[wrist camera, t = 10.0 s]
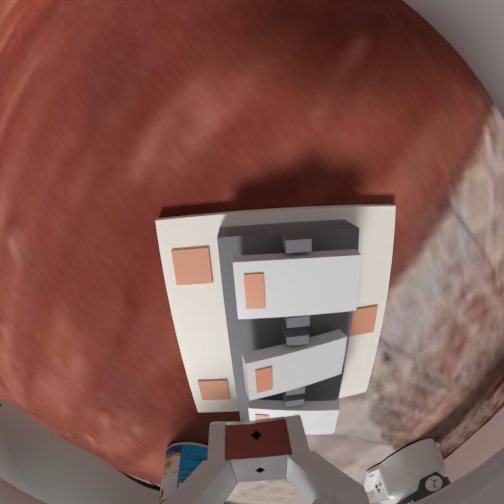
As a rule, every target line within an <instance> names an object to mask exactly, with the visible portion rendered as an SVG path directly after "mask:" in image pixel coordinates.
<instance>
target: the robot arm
mask: <svg viewBox="0 0 504 504" xmlns="http://www.w3.org/2000/svg"><path fill="white" fill-rule="evenodd" d="M439 446H440V444H439V442H434V440H433V439H431V438H429V439H424V440H421V441H418V442H416V443H413V444H411V445H409V446H407V447H405V448H403V449H402V450H400V451H398V452H397V453H395V454H393V455H392V456H390V457H389V458H387V459H386V460H385V461H383V462H382V463H380V464H379V465H377V466H375V467H373V468H371V469H369V470H368V471H366V474H365V479H364V484H363V486H362V485H361V484H359V483H358V482H356V481H355V480H353V479H352V478H350V477H349V476H348V475H346V474H345V473H343V472H342V471H340V470H339V469H338V468H336V467H335V466H333V465H332V464H331V463H329V462H328V461H327V460H325V459H324V458H323V457H321V456H320V455H319V454H317V453H316V452H315V451H311V452H310V450H309V446H308V442H307V438H306V435H305V431H304V427H303V423H302V419H301V416H300V415H293V416H286V417H284V416H283V417H276V418H268V419H259V420H255V421H234V422H211V423H210V426H209V441H208V459H207V461H202V462H201V463H200V465H199V466H198V467H197V468H196V469H195V470H194V471H193V472H192V473H191V474H190V476H189V477H188V478H187V479H186V480H185V481H184V482H183V483H182V484H181V485H180V486H179V487H178V488H177V489H176V490H175V491H174V492H173V493H172V494H171V495H170V496H169V497H168V498H167V499H166V500H165V501H164V502H163V503H162V504H224V502H225V501H226V499H227V498H228V496H229V495H230V493H231V492H232V491H233V489H234V488H235V486H236V485H237V483H238V482H251V481H262V480H274V479H284V478H286V479H287V480H288V481H289V482H290V483H291V484H292V485H293V486H294V487H295V488H296V489H297V490H298V491H299V492H300V493H301V494H302V495H303V496H304V497H305V498H306V499H307V500H308V501H309V502H310V503H312V504H370V502H369V499H368V497H367V494H366V492H370V491H374V494H375V496H376V499H377V501H378V502H380V503H383V504H504V448H502V449H501V450H500V451H499V452H497V453H496V454H495V455H493V456H492V457H491V458H489V459H488V460H486V461H485V462H484V463H482V464H481V465H480V466H478V467H476V468H475V469H473V470H472V471H471V472H469V473H467V474H466V475H464V476H463V477H461V478H460V479H458V480H456V481H454V482H453V483H451V482H450V481H449V479H448V477H445V473H446V466H445V463H444V461H443V458H442V456H441V454H440V452H439V449H438V448H439ZM0 504H47V503H46V502H43V501H42V500H39V499H37V498H35V497H33V496H32V495H29V494H28V493H26V492H24V491H22V490H20V489H19V488H17V487H15V486H13V485H12V484H10V483H8V482H7V481H5V480H4V479H2V478H0Z"/></svg>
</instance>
